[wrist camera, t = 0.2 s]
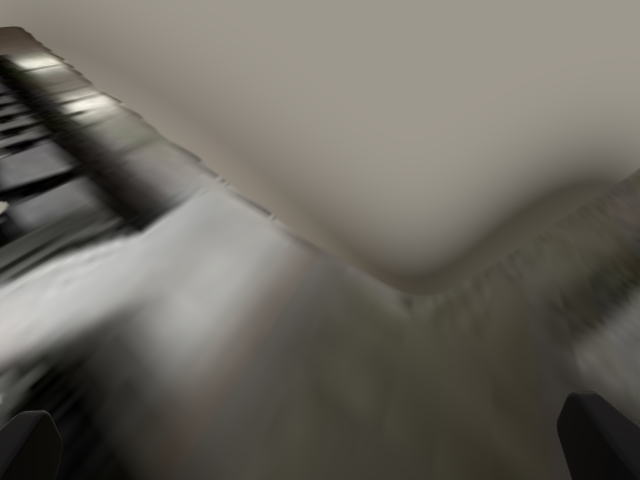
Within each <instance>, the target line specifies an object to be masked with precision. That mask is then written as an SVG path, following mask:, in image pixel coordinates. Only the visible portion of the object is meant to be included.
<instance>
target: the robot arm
mask: <svg viewBox="0 0 640 480" xmlns="http://www.w3.org/2000/svg"><path fill="white" fill-rule="evenodd" d="M557 431H558V436H559V439H560V442H561V445H562V449H563V452H564V455H565V458H566V462H567V465H568V468H569V471H570V474H571V478H572V480H640V427H639V426H638V425H637V424H636V423H634V422H633V421H632V420H631V419H629V418H628V417H627V416H626V415H624V414H623V413H622V412H621V411H619V410H618V409H617V408H616V407H614V406H613V405H612V404H611V403H609V402H608V401H607V400H606V399H604V398H603V397H602V396H601V395H599V394H597V393H596V392H593V391H576V392H571V393H570V394H568V396H567V398H566V401H565V403H564V405H563V408H562V410H561V413H560V415H559V417H558V420H557ZM61 454H62V439H61V436H60V434H59V432H58V430H57V428H56V426H55V424H54V422H53V420H52V418H51V416H50V414H49V413H48V412H46V411H25V412H22V413H20V414H18V415H16V416H15V417H14V418H13V419H12V420H11V421H9V422H8V423H7V424H6V425H5V426H4V427H3V428H2V429H0V480H55V478H56V474H57V470H58V466H59V462H60V458H61Z"/></svg>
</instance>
